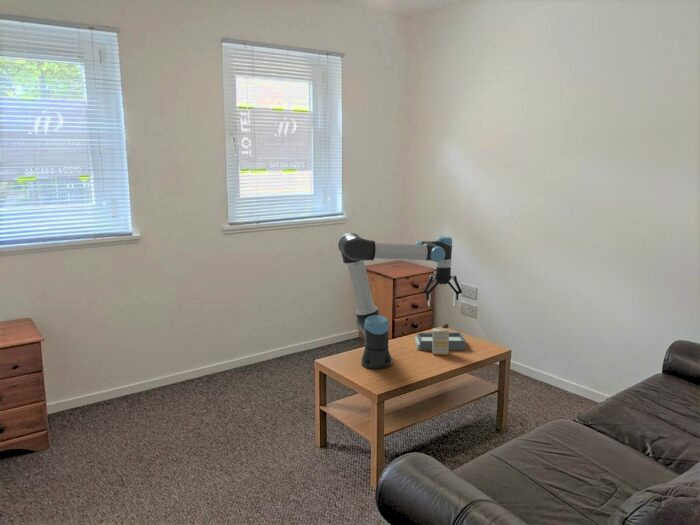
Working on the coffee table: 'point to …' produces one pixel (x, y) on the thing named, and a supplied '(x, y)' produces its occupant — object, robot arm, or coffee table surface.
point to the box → (425, 341)
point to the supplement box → (440, 341)
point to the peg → (445, 325)
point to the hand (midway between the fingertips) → (441, 306)
